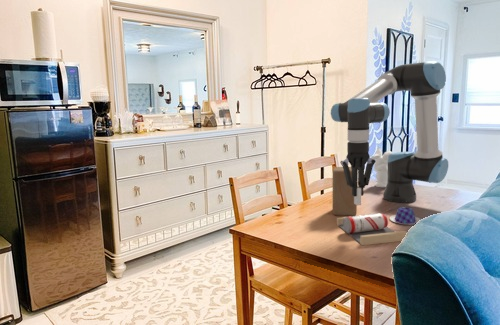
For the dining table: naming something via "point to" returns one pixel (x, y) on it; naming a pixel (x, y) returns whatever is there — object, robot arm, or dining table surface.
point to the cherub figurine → (381, 167)
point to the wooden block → (342, 194)
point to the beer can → (365, 223)
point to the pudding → (405, 216)
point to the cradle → (374, 235)
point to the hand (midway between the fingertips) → (357, 204)
